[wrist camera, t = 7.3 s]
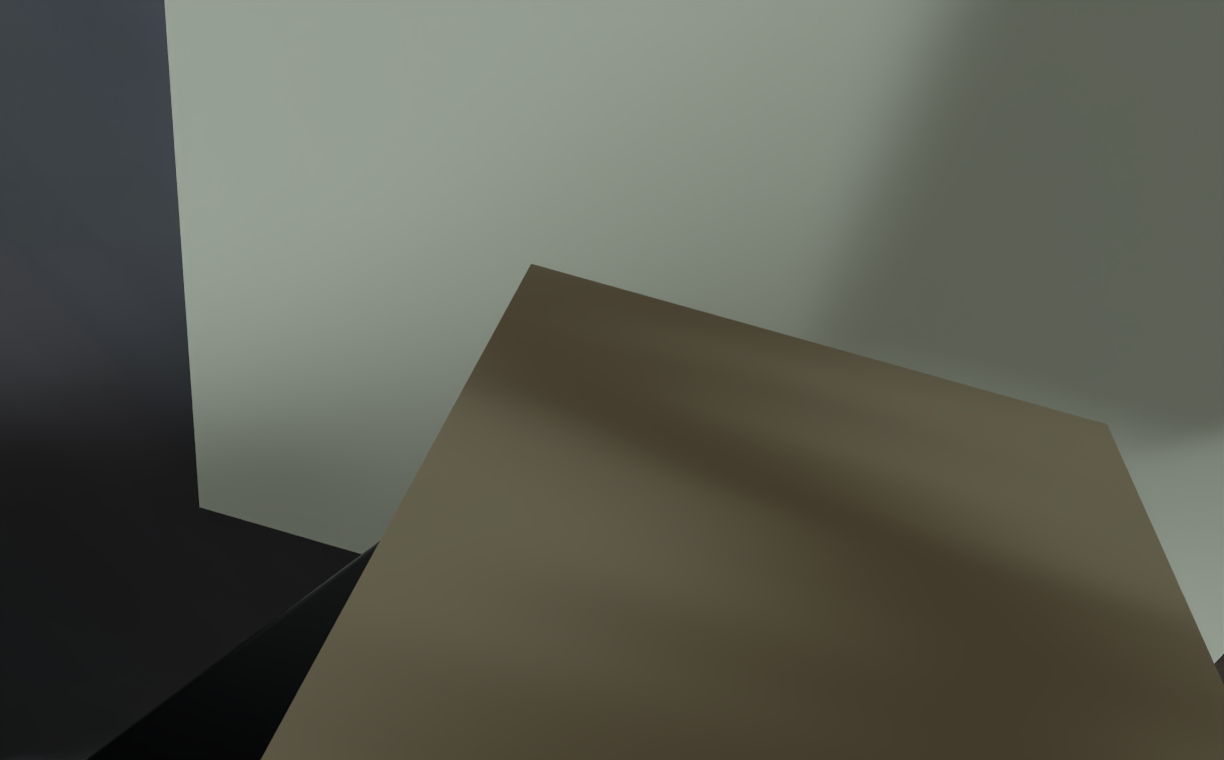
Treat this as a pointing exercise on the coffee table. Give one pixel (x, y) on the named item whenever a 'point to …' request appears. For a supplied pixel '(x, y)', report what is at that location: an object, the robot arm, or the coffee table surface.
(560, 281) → the tan wooden cube
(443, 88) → the mat
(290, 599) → the coffee table surface
